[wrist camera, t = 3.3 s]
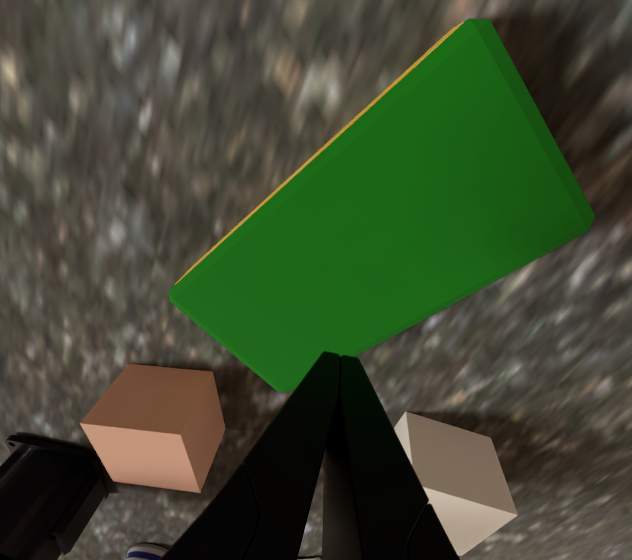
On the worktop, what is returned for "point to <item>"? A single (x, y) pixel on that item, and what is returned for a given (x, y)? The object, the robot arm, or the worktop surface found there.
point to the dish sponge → (392, 216)
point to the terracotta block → (158, 427)
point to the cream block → (458, 478)
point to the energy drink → (145, 552)
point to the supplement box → (316, 559)
